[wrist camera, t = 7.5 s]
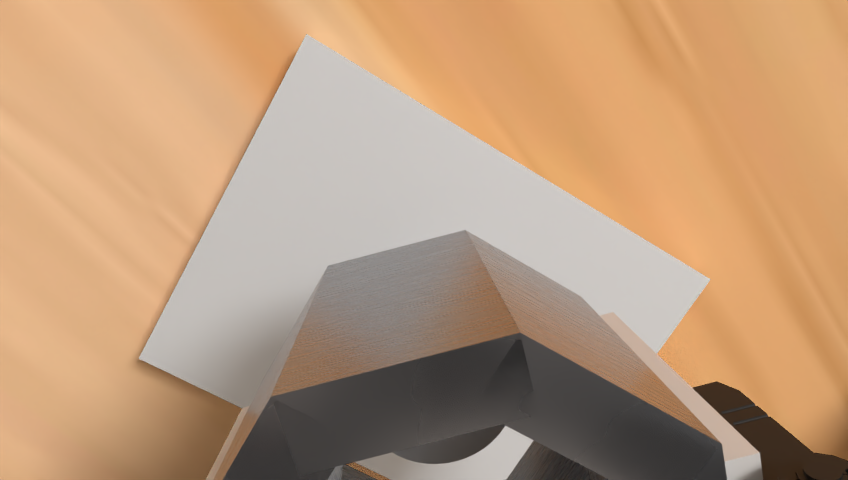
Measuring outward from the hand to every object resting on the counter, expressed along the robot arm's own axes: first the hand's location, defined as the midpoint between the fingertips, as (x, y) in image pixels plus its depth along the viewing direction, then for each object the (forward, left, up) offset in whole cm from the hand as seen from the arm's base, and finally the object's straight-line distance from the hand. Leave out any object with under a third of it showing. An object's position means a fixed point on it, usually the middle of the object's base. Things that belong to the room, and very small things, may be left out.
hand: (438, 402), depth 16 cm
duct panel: (0, 0, -8) cm, 8 cm away
